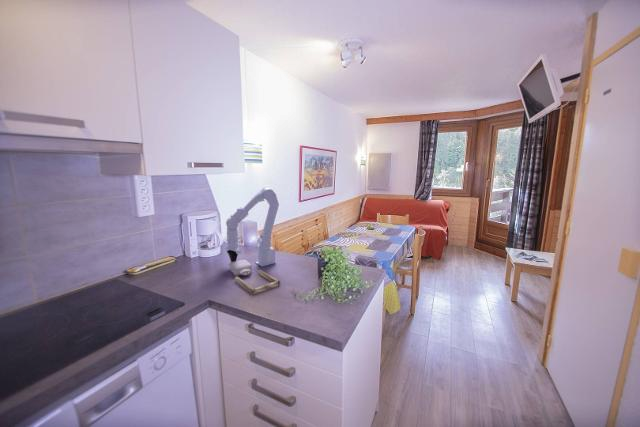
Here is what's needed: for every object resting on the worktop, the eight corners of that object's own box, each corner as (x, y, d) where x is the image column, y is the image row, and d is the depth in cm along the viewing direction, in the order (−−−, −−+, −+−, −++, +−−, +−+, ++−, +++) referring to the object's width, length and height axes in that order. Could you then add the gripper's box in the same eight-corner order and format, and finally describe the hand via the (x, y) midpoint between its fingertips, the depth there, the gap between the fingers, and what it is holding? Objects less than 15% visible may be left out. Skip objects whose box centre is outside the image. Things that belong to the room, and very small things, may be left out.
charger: (239, 280, 129) (229, 270, 141) (256, 276, 135) (246, 267, 147) (238, 271, 129) (229, 262, 140) (256, 267, 134) (245, 259, 146)
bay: (260, 273, 138) (260, 269, 138) (279, 285, 125) (279, 281, 125) (234, 280, 129) (234, 276, 128) (252, 294, 116) (252, 290, 115)
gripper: (220, 237, 146) (221, 260, 148) (231, 243, 135) (232, 268, 138) (232, 235, 150) (233, 257, 153) (243, 241, 140) (244, 265, 142)
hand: (233, 262), depth 146 cm, fingers closed
